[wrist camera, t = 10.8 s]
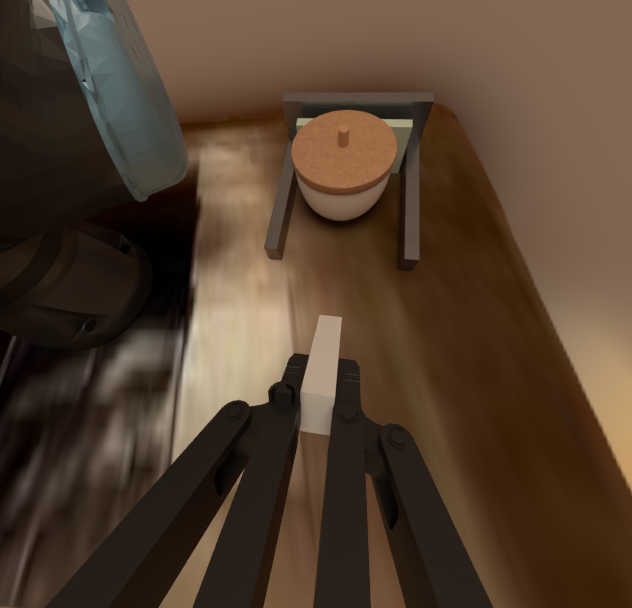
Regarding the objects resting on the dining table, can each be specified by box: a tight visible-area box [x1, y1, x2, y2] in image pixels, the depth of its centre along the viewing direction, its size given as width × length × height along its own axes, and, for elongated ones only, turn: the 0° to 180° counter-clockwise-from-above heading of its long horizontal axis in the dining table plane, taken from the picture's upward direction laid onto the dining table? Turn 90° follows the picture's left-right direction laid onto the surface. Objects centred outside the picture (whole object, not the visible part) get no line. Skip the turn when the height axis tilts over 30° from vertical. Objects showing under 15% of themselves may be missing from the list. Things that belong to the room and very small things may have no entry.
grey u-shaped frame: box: [264, 92, 434, 271], centre depth 27 cm, size 17×18×7 cm
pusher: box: [296, 118, 413, 173], centre depth 29 cm, size 13×1×6 cm, turn 82°
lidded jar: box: [291, 110, 397, 221], centre depth 26 cm, size 11×11×9 cm
